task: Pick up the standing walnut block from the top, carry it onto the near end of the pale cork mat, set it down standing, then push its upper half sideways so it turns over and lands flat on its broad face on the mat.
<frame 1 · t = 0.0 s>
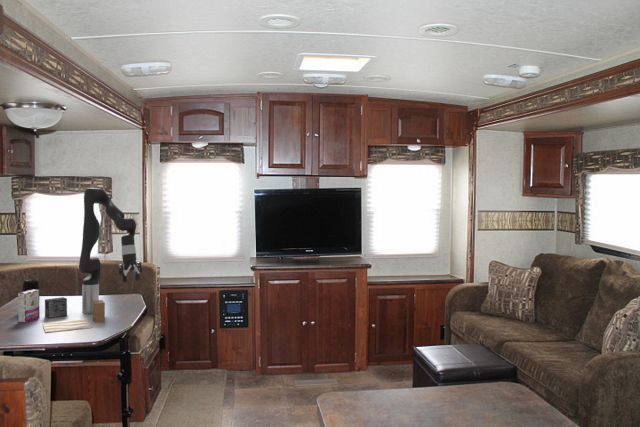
hand: (131, 281, 304), 22 cm above the table, tool pointing down, fingers open, 8 cm apart
walnut block: (98, 321, 302), on the table
cork mat: (66, 326, 289), on the table
portable speaker: (30, 311, 321), on the table
candy bar box: (28, 320, 301), on the table
small box: (56, 316, 310), on the table
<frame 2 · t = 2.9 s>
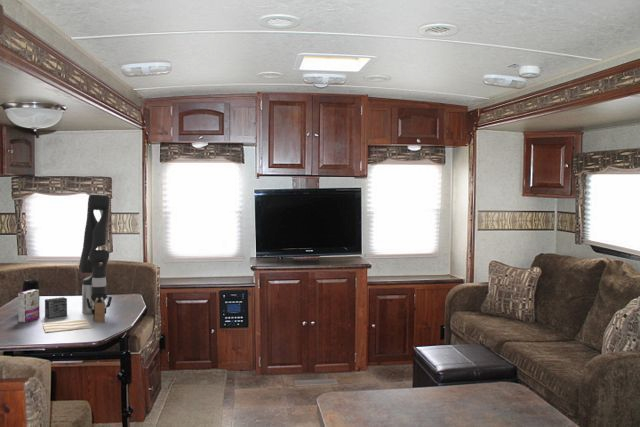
hand: (98, 314, 302), 3 cm above the table, tool pointing down, fingers closed on walnut block, 5 cm apart
walnut block: (98, 321, 302), on the table, touching gripper
everything else where it was.
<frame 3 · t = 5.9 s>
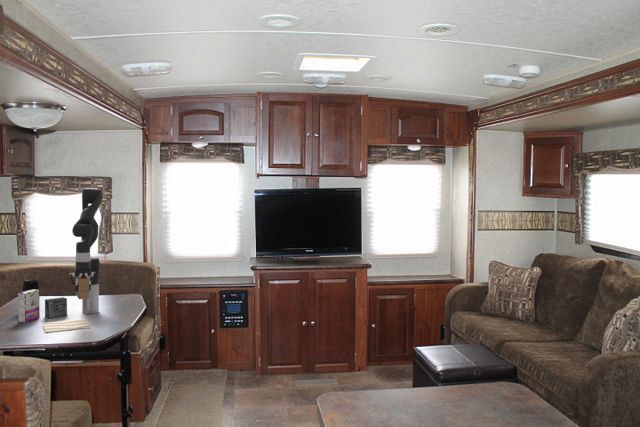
hand: (82, 291, 292), 18 cm above the table, tool pointing down, fingers closed on walnut block, 5 cm apart
walnut block: (83, 297, 292), point 15 cm above the table, touching gripper
everything else where it was.
when the fingers open (5 cm above the table, at t = 8.7 s): walnut block stays where it is, resting on cork mat.
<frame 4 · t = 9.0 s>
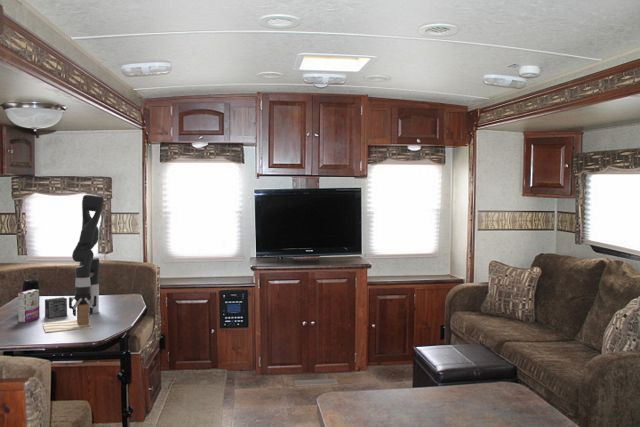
hand: (82, 315, 293), 5 cm above the table, tool pointing down, fingers open, 7 cm apart
walnut block: (82, 323, 293), point 1 cm above the table, touching cork mat
everything else where it was.
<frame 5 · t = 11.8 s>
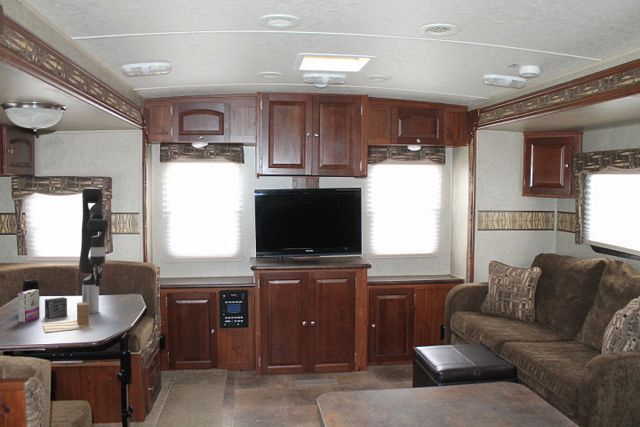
hand: (97, 286, 296), 21 cm above the table, tool pointing down, fingers closed
nothing on the table moved.
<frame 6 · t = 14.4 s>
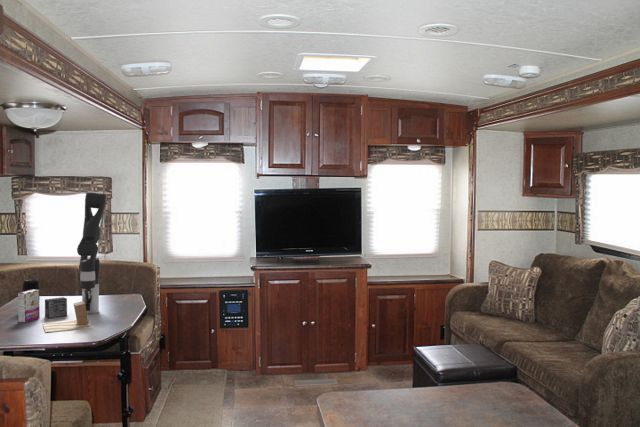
hand: (87, 310, 294), 8 cm above the table, tool pointing down, fingers closed
walnut block: (82, 322, 293), point 1 cm above the table, tilted 9°, touching cork mat, gripper
everything else where it was.
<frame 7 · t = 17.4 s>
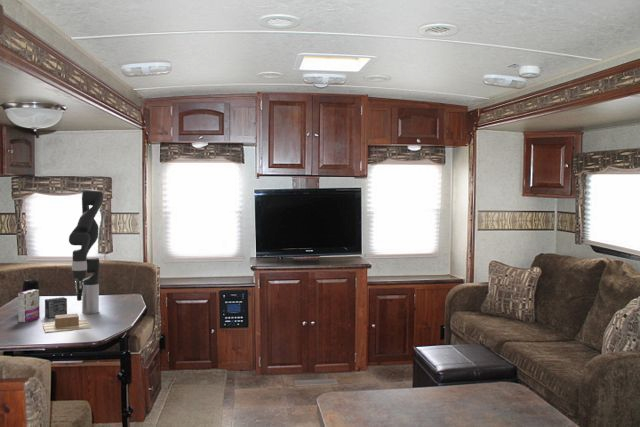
hand: (79, 300, 292), 14 cm above the table, tool pointing down, fingers closed
walnut block: (77, 319, 292), point 3 cm above the table, tilted 90°, touching cork mat
everything else where it was.
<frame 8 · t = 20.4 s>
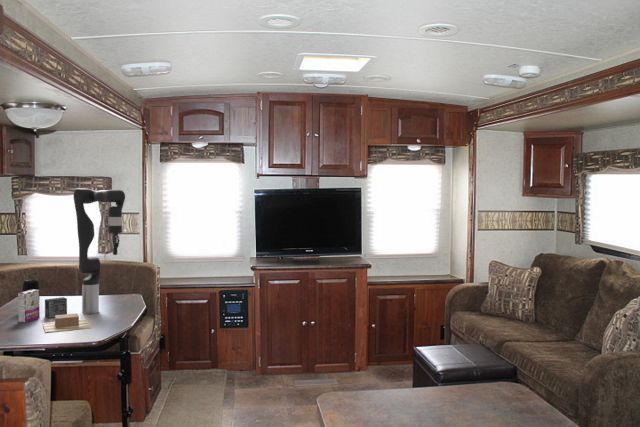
hand: (115, 254, 308), 37 cm above the table, tool pointing down, fingers closed
nothing on the table moved.
at the end: walnut block tilted 90°; walnut block inside the target area (7.6 cm from its centre), point 3.1 cm above the table; the gripper is holding nothing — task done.
